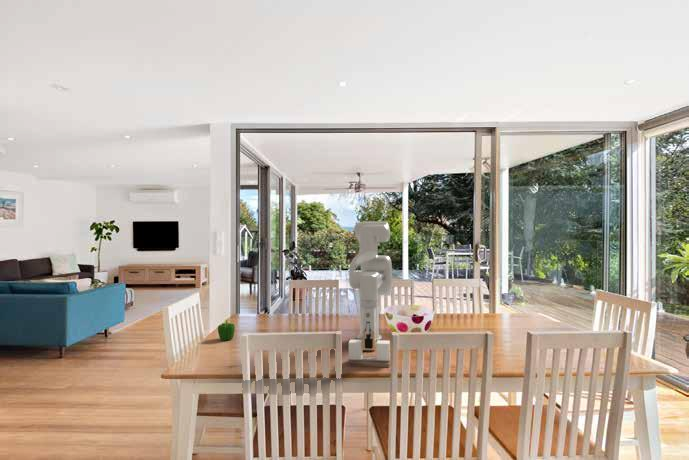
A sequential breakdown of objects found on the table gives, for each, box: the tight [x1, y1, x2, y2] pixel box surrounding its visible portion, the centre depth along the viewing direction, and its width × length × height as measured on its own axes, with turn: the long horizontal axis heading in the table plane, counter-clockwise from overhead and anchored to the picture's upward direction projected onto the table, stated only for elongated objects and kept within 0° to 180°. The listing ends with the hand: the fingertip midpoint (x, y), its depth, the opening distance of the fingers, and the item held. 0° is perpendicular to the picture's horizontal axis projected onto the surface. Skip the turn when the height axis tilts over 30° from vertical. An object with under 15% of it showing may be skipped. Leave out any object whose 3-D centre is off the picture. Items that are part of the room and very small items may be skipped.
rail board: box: [347, 339, 391, 368], centre depth 178 cm, size 10×17×9 cm, turn 82°
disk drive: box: [347, 338, 376, 353], centre depth 201 cm, size 10×3×15 cm
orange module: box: [363, 330, 377, 350], centre depth 178 cm, size 5×5×8 cm
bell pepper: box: [217, 319, 236, 341], centre depth 218 cm, size 8×8×10 cm
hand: (369, 345), depth 178 cm, fingers closed on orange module, 5 cm apart
